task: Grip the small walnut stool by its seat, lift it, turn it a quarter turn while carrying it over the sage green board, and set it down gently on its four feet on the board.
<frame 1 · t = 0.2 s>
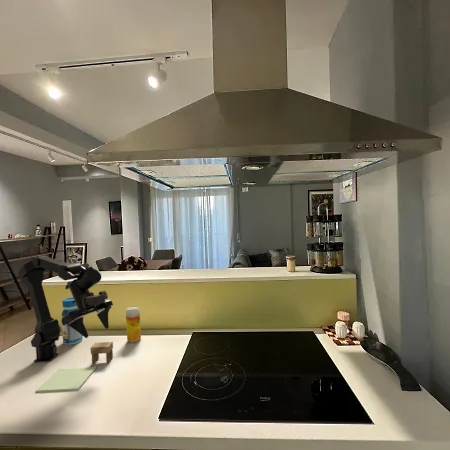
hand: (97, 332, 109), 15 cm above the counter, tool tilted 30°, fingers open, 9 cm apart
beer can: (134, 340, 137), on the counter
walnut stool: (102, 360, 118), on the counter
sage board: (68, 379, 105), on the counter
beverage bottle: (73, 342, 138), on the counter
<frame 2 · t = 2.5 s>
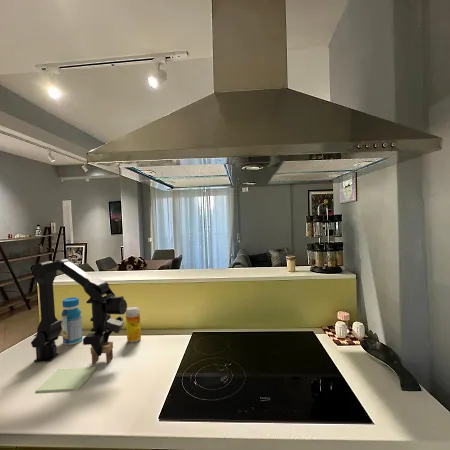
hand: (102, 352, 118), 3 cm above the counter, tool pointing down, fingers closed on walnut stool, 4 cm apart
walnut stool: (102, 360, 118), on the counter, touching gripper
everything else where it was.
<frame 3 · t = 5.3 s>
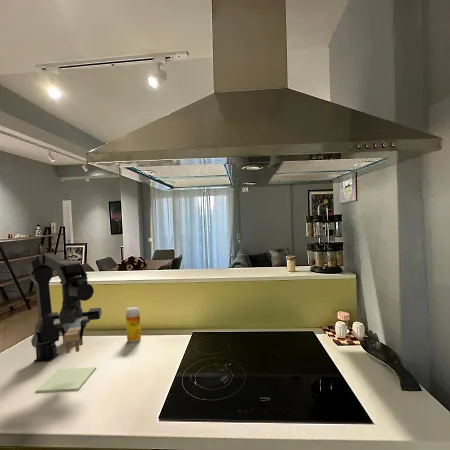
hand: (74, 339, 107), 13 cm above the counter, tool pointing down, fingers closed on walnut stool, 4 cm apart
walnut stool: (74, 348, 107), point 10 cm above the counter, touching gripper
everything else where it was.
when the fingers open (5 cm above the counter, at t = 8.3 s): walnut stool drops 1 cm, resting on sage board.
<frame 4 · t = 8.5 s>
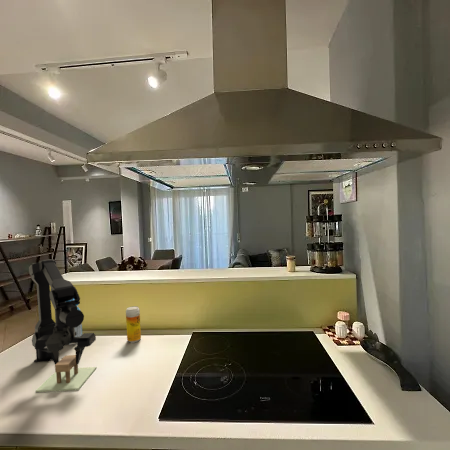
hand: (67, 364, 105), 5 cm above the counter, tool pointing down, fingers open, 7 cm apart
walnut stool: (67, 378, 105), point 1 cm above the counter, touching sage board
everything else where it was.
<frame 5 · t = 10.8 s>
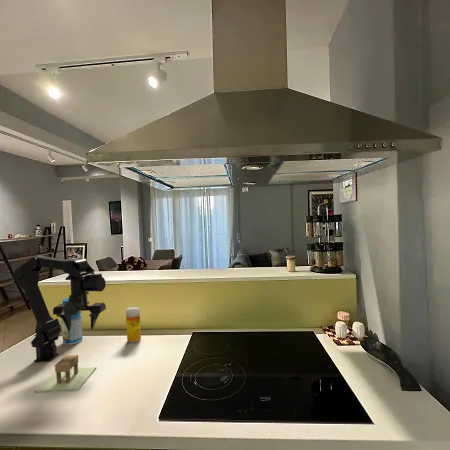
hand: (80, 329, 118), 13 cm above the counter, tool pointing down, fingers open, 9 cm apart
nothing on the counter moved.
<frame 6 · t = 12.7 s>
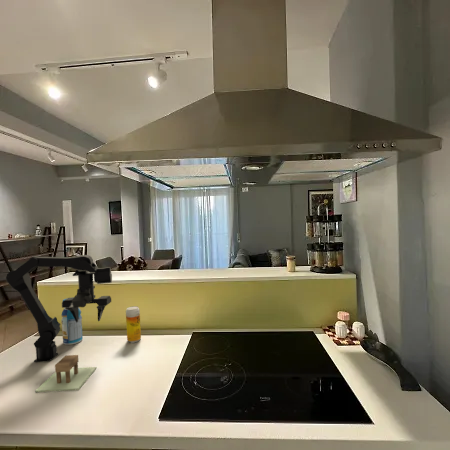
hand: (88, 321, 126), 13 cm above the counter, tool pointing down, fingers open, 9 cm apart
nothing on the counter moved.
at the end: walnut stool inside the target area on the sage board (0.0 cm from its centre), point 0.6 cm above the sage board's base; walnut stool tilted 0°; the gripper is holding nothing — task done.
